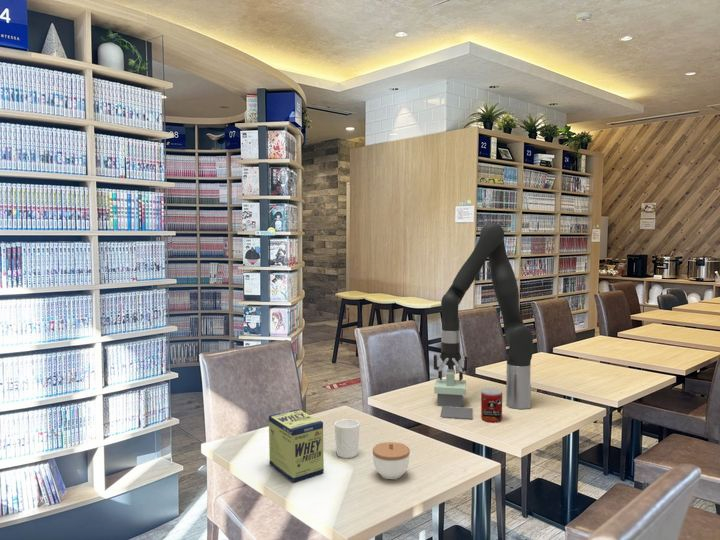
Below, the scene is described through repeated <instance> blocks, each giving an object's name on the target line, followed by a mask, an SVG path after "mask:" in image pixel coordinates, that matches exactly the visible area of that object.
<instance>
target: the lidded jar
mask: <svg viewBox="0 0 720 540" xmlns="http://www.w3.org/2000/svg"><path fill="white" fill-rule="evenodd" d="M372 459H373V465H374V468H375V470H376V471H377V472H376V473H378V474H379V475H380V476H382V477H381V478H382V479H385V478H386V479H385V480H388V479H395V480H399V479H400V478H402V476H403V474H405V473H406V472H407V469H408V467H409V463H410V448H409V446H407V445H406V444H404V443H401V442H395V441H391V442H390V441H388V442H387V441H386V442H380V443H377V444H376V445H374V446H373V447H372ZM398 478H399V479H398Z"/></svg>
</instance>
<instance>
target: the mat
mask: <svg viewBox="0 0 720 540" xmlns="http://www.w3.org/2000/svg"><path fill="white" fill-rule="evenodd" d="M440 411H441V412H440V416H439V418H440V417H442V418H441V419H452V418H454V420H467V419H468V421H473V418H474V417H473V412H474V411H473V407H450V406H441V410H440Z"/></svg>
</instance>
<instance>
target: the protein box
mask: <svg viewBox="0 0 720 540" xmlns="http://www.w3.org/2000/svg"><path fill="white" fill-rule="evenodd" d="M268 438H269V439H268V446H269V447H268V448H269V449H268V450H269V453H268V454H269V465H270V466H271V467H272V468H273V469H275V470H276V471H278V473H279V474H281V475H282V476H283V477H285V478H287V479H288V480H289V481H290V482H291V483H292V484H294V483H297V482H301V481H303V480H306V478H307V479H309V478H312V477H316V475H317V476H320V475H323V474H324V469H325V466H324V461H325V459H324V422H323V421H322V420H319V418H316V417H314V416H312V415H310V414H308V413H306V412H304V411H303V410H301V409H299V408H297V409H293V410H287V411H285V412H283V411H282V412H279V413H275V414H274V413H273V414H270V415H268ZM322 473H323V474H322ZM319 474H320V475H319Z"/></svg>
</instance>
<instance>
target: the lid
mask: <svg viewBox="0 0 720 540" xmlns="http://www.w3.org/2000/svg"><path fill="white" fill-rule="evenodd" d="M455 375H456V374H455V369H452V368H447V369H446V375H445V378H442V380H440V379H439V378H436V379H435V383H434V386H433V394H454V395H463V396H466V391H467V380H465V379H462V380H461V381H459V379H455Z"/></svg>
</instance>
